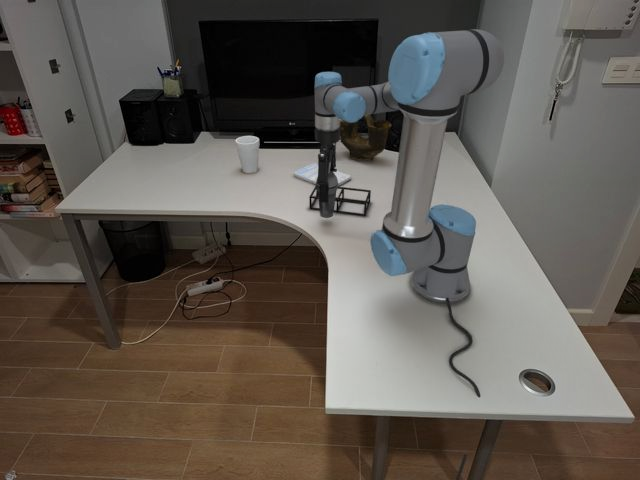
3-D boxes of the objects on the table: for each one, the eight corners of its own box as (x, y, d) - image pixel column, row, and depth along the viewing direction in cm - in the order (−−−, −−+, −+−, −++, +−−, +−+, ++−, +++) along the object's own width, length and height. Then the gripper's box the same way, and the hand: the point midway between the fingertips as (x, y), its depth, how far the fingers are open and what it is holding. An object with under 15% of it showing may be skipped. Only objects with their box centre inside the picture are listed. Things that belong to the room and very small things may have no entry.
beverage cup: (312, 212, 150) (311, 156, 138) (331, 207, 152) (332, 152, 141) (321, 222, 144) (321, 165, 133) (341, 217, 147) (343, 161, 135)
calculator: (330, 190, 169) (330, 186, 168) (292, 176, 180) (292, 171, 178) (351, 179, 177) (352, 175, 176) (314, 165, 188) (314, 161, 187)
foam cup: (263, 172, 182) (261, 142, 175) (241, 176, 180) (238, 145, 172) (257, 163, 190) (255, 134, 183) (236, 167, 187) (233, 137, 180)
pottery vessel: (392, 160, 193) (397, 115, 182) (380, 168, 185) (384, 122, 174) (345, 147, 205) (346, 104, 194) (331, 155, 198) (332, 110, 187)
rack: (365, 216, 153) (366, 203, 150) (309, 209, 157) (309, 196, 154) (370, 202, 161) (370, 190, 158) (316, 196, 165) (316, 184, 162)
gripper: (332, 140, 122) (331, 212, 135) (346, 117, 139) (344, 183, 151) (306, 138, 124) (307, 209, 137) (323, 116, 140) (323, 181, 153)
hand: (326, 195), depth 144 cm, fingers closed on beverage cup, 7 cm apart
